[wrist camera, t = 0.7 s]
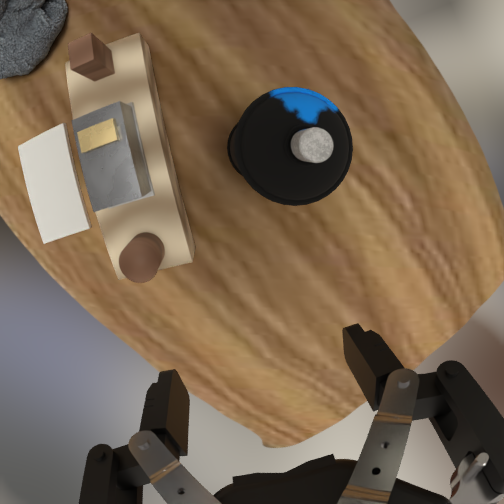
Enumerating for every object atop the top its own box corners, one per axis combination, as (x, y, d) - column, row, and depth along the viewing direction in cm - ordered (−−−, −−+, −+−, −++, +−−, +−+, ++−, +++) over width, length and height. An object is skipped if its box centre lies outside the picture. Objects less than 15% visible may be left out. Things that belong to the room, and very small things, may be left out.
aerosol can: (296, 182, 36) (378, 220, 17) (227, 182, 35) (238, 221, 16) (297, 115, 33) (383, 83, 14) (227, 113, 32) (239, 67, 13)
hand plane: (82, 71, 28) (38, 50, 17) (148, 46, 28) (124, 11, 18) (129, 263, 37) (101, 304, 26) (195, 247, 37) (187, 286, 27)
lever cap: (88, 123, 25) (67, 119, 21) (131, 106, 26) (116, 99, 21) (108, 204, 28) (90, 214, 24) (151, 191, 29) (139, 198, 24)
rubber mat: (21, 146, 29) (18, 146, 29) (65, 123, 30) (63, 122, 29) (46, 242, 34) (43, 243, 33) (91, 226, 34) (89, 228, 34)
